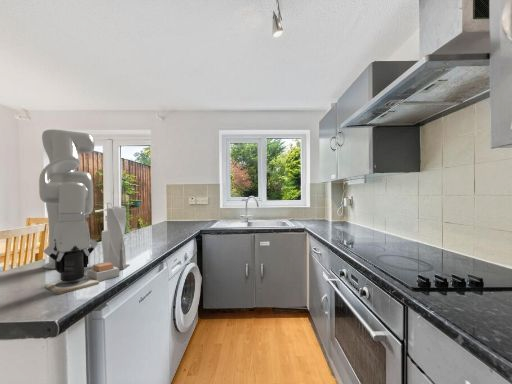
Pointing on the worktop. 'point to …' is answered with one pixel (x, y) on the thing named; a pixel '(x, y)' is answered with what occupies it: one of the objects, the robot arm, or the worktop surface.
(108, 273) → the button housing
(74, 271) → the supplement bottle
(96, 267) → the button
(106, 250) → the drinking glass
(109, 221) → the skyscraper
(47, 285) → the cream square coaster
